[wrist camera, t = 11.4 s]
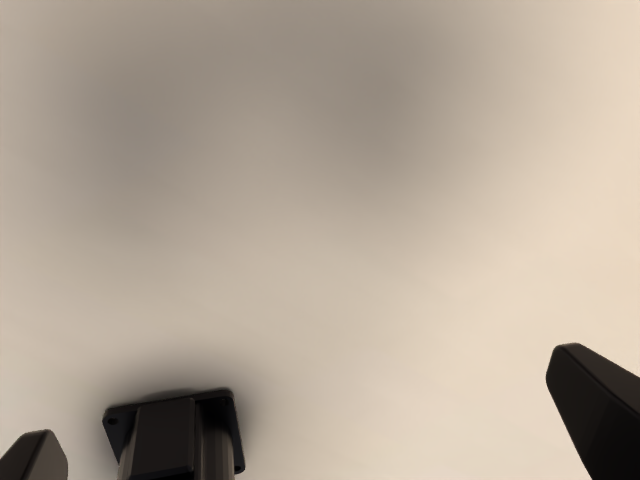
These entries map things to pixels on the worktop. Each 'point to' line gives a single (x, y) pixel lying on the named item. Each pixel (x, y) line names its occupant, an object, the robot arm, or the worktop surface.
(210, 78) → the worktop surface
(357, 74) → the worktop surface
